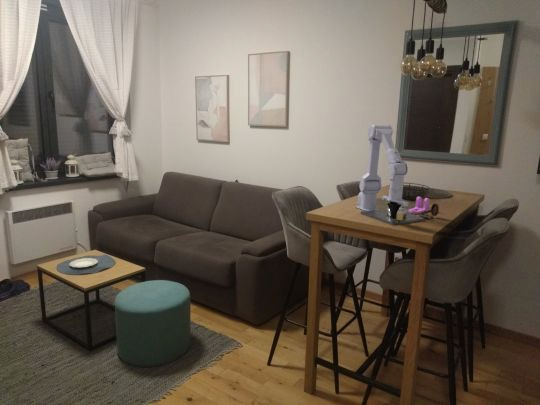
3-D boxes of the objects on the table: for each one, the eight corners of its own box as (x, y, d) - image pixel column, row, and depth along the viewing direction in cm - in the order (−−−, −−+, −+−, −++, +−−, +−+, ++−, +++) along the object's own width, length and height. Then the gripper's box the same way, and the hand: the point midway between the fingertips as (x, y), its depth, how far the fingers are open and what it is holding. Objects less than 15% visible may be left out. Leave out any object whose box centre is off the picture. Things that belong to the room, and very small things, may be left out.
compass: (417, 216, 201) (418, 201, 200) (432, 216, 202) (434, 201, 200) (423, 220, 194) (425, 205, 192) (440, 220, 194) (442, 205, 192)
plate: (360, 213, 203) (360, 211, 203) (391, 210, 212) (391, 207, 211) (392, 225, 183) (393, 222, 183) (425, 220, 192) (425, 218, 192)
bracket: (418, 208, 217) (419, 196, 216) (428, 210, 213) (429, 197, 212) (406, 212, 208) (407, 199, 207) (416, 214, 204) (418, 201, 203)
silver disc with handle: (385, 212, 201) (386, 204, 200) (404, 213, 200) (405, 205, 199) (389, 219, 187) (390, 211, 186) (410, 221, 185) (410, 213, 184)
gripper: (378, 186, 189) (375, 215, 192) (401, 192, 176) (398, 223, 179) (389, 185, 192) (387, 213, 195) (413, 191, 179) (410, 221, 182)
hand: (393, 218), depth 187 cm, fingers closed, pressing on silver disc with handle
